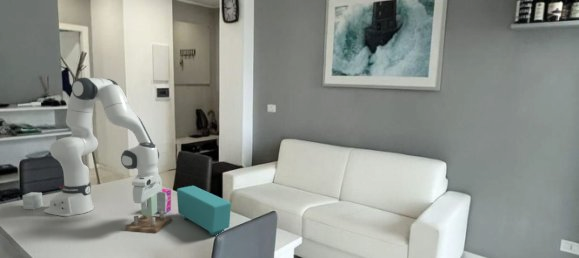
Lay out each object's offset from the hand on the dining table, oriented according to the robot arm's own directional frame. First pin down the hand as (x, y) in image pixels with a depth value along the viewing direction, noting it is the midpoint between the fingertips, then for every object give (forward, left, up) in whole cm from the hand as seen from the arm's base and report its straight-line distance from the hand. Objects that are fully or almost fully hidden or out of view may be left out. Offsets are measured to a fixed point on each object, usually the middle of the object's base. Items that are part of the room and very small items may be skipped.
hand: (149, 206), depth 165 cm
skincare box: (-70, +10, -10) cm, 71 cm away
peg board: (0, 0, -9) cm, 9 cm away
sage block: (0, 0, -4) cm, 4 cm away
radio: (+24, +5, -10) cm, 27 cm away
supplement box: (-2, +18, -10) cm, 20 cm away
